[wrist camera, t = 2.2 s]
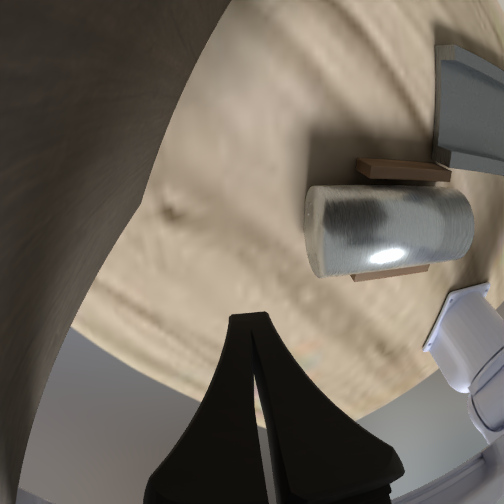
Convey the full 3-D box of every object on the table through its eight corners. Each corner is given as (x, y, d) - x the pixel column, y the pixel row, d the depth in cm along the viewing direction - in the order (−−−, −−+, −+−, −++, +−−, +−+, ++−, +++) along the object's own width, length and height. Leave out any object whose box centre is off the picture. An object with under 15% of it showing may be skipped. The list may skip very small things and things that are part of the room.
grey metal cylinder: (433, 180, 19) (479, 198, 14) (424, 243, 21) (464, 272, 16) (303, 178, 18) (333, 197, 13) (303, 255, 20) (327, 295, 15)
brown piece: (415, 258, 22) (427, 271, 20) (344, 266, 21) (354, 281, 19) (435, 163, 17) (451, 171, 16) (357, 158, 17) (371, 165, 15)
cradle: (499, 169, 18) (515, 177, 16) (431, 159, 17) (449, 167, 15) (506, 80, 13) (523, 83, 11) (434, 45, 12) (454, 44, 11)
